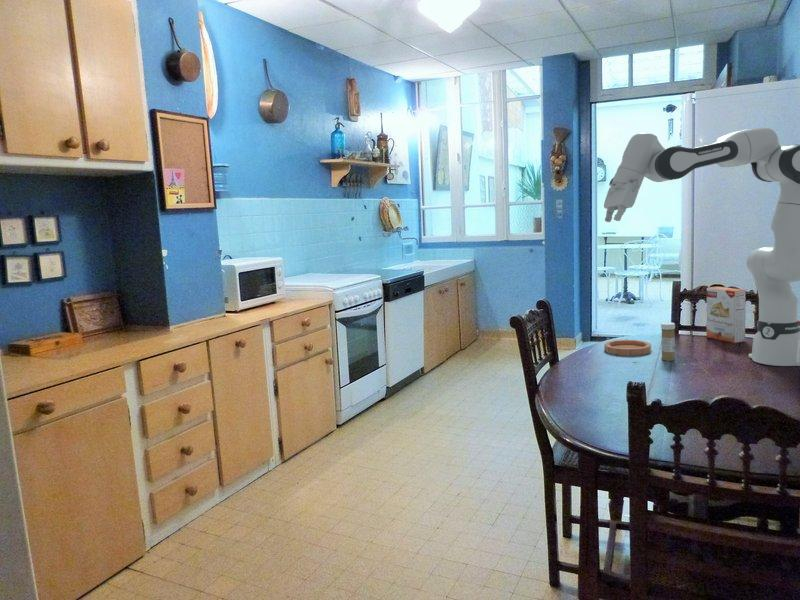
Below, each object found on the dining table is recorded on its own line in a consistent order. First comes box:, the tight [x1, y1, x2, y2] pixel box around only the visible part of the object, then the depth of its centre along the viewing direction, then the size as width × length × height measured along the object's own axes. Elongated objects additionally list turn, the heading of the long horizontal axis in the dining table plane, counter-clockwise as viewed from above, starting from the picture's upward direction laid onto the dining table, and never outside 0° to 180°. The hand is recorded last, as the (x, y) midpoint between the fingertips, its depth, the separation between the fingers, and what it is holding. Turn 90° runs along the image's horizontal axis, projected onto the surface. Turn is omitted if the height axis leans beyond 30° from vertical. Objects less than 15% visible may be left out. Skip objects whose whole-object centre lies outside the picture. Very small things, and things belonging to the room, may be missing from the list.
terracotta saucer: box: [603, 339, 652, 357], centre depth 233 cm, size 17×17×2 cm
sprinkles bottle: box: [660, 321, 676, 362], centre depth 215 cm, size 5×5×14 cm
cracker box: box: [706, 286, 747, 344], centre depth 239 cm, size 14×6×21 cm, turn 17°
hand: (611, 221), depth 198 cm, fingers open, 8 cm apart
